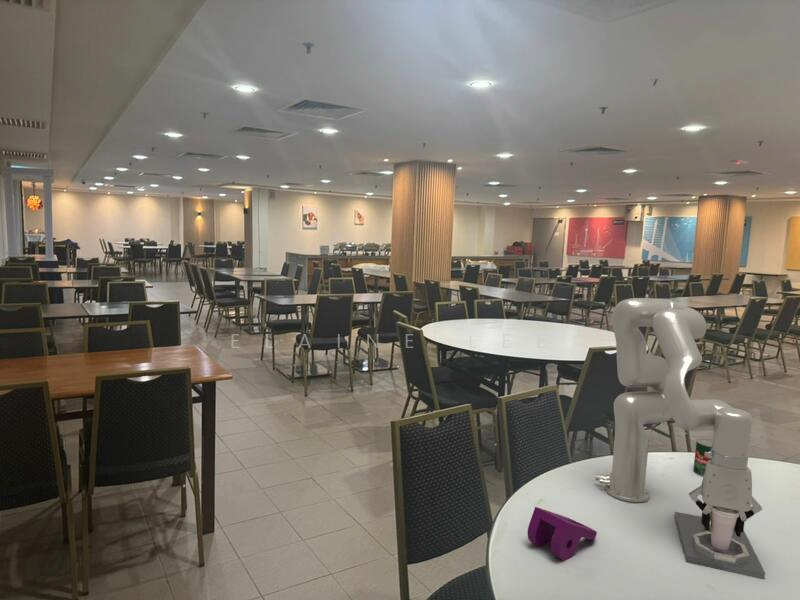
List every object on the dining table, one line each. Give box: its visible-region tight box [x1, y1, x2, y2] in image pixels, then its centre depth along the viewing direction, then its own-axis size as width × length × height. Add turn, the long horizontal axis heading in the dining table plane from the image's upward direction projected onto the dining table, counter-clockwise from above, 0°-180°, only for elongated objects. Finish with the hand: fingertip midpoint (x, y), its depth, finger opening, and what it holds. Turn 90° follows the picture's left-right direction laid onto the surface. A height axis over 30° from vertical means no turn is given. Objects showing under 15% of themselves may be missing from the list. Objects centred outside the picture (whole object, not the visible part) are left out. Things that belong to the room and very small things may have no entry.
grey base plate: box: [674, 510, 766, 580], centre depth 137 cm, size 16×24×6 cm, turn 159°
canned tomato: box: [693, 438, 713, 478], centre depth 182 cm, size 8×8×11 cm
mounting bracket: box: [527, 506, 598, 562], centre depth 134 cm, size 9×8×18 cm
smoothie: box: [710, 506, 739, 550], centre depth 131 cm, size 6×6×14 cm
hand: (721, 530), depth 131 cm, fingers closed on smoothie, 6 cm apart
